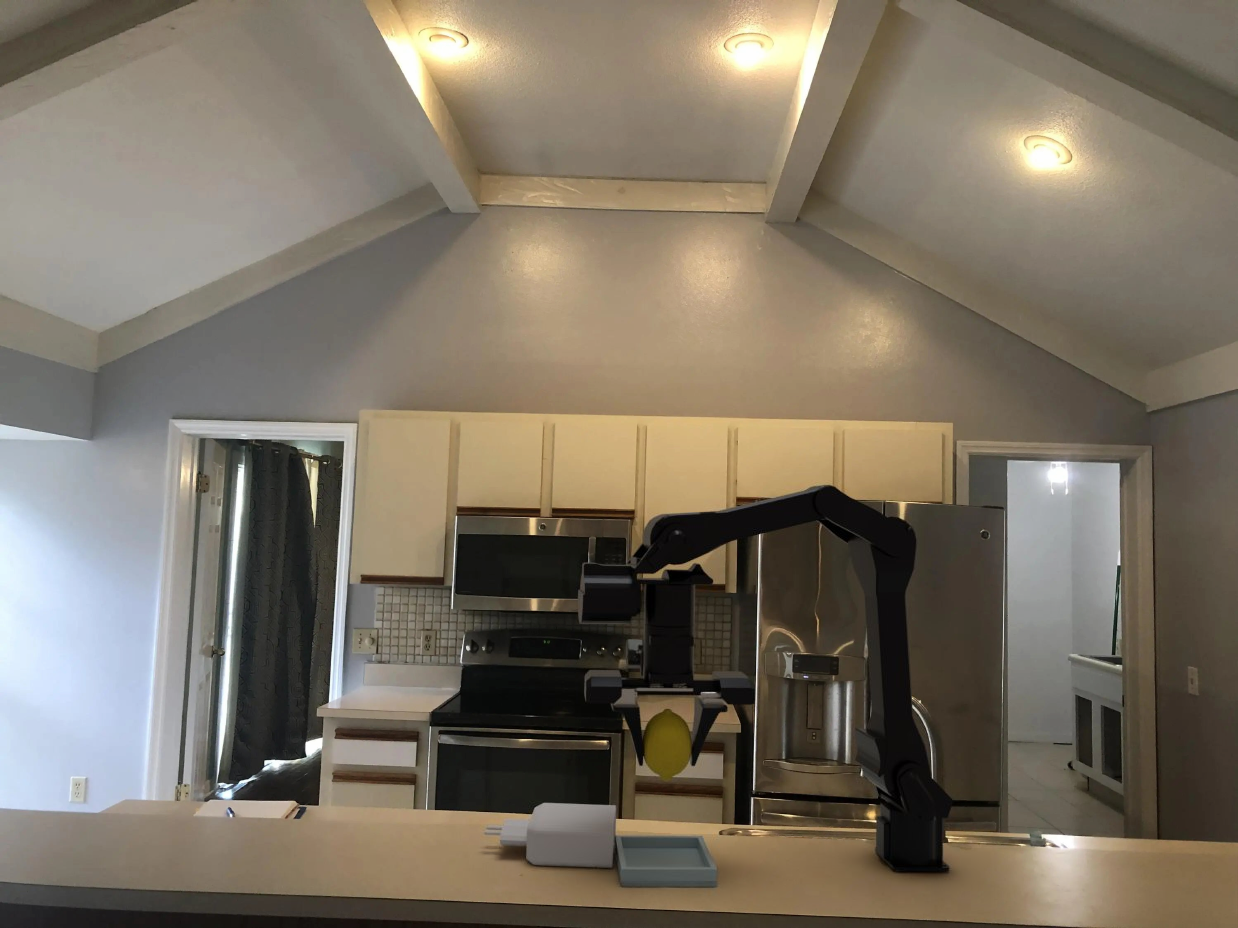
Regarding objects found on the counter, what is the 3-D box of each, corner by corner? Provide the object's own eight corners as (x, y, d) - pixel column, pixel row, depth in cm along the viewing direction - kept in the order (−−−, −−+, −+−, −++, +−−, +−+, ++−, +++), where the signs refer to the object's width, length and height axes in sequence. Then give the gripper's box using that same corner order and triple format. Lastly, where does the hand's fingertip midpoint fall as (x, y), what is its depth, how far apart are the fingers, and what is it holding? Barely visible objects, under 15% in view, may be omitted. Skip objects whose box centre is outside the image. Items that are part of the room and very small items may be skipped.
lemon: (691, 775, 102) (692, 704, 103) (690, 789, 97) (691, 714, 98) (643, 773, 103) (644, 702, 104) (639, 787, 98) (641, 712, 98)
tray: (701, 851, 105) (702, 835, 105) (717, 886, 95) (717, 869, 95) (614, 851, 104) (615, 835, 104) (620, 886, 94) (621, 869, 94)
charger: (492, 837, 108) (615, 842, 108) (477, 866, 99) (612, 872, 98) (493, 797, 108) (616, 802, 108) (478, 822, 99) (613, 827, 99)
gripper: (736, 617, 110) (734, 747, 109) (584, 615, 109) (581, 746, 108) (756, 628, 99) (755, 772, 98) (587, 626, 97) (584, 772, 96)
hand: (666, 764), depth 100 cm, fingers closed on lemon, 5 cm apart
